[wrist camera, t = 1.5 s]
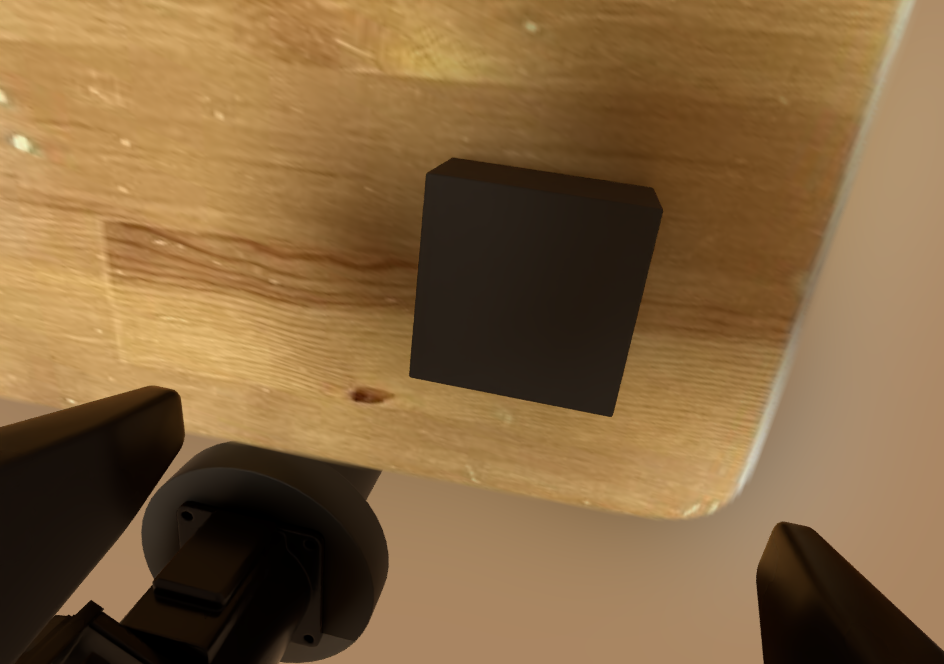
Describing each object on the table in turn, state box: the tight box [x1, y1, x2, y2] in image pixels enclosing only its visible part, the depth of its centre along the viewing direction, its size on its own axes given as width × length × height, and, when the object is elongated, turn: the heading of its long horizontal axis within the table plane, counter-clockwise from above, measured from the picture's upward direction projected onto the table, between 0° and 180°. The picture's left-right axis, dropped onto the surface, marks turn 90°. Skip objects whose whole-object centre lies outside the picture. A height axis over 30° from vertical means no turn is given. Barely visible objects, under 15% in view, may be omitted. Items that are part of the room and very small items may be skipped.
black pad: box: [409, 158, 663, 417], centre depth 18 cm, size 6×6×3 cm
